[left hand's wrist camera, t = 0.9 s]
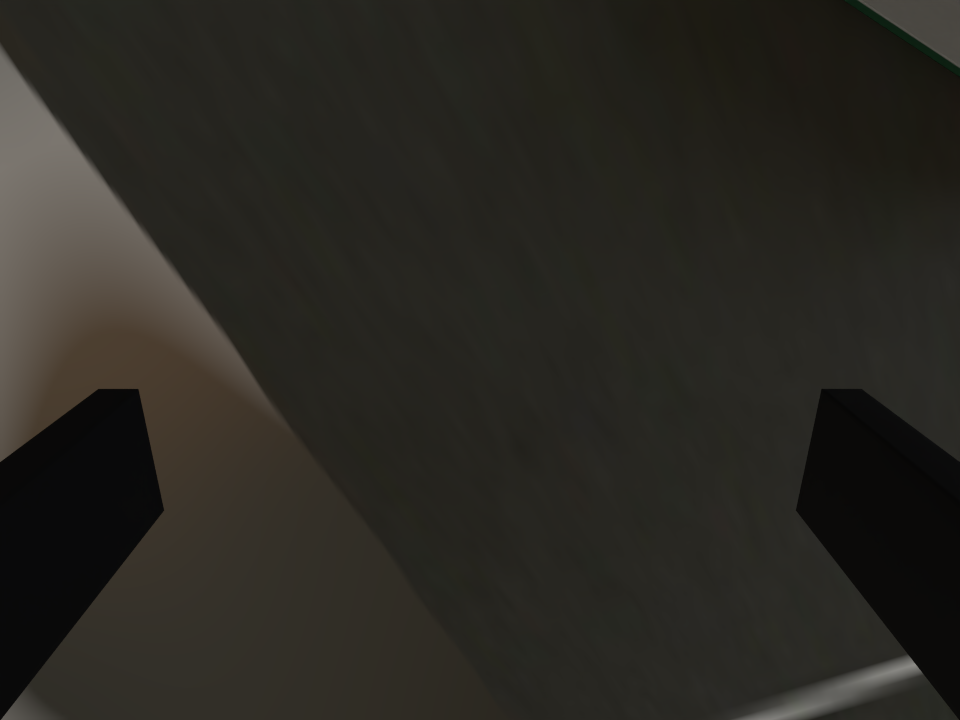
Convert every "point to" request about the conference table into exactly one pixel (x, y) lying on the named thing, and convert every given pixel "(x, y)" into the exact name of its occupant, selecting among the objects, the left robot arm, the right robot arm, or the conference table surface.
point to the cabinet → (921, 25)
